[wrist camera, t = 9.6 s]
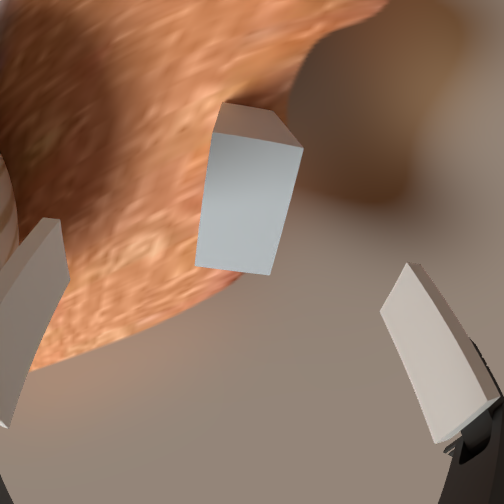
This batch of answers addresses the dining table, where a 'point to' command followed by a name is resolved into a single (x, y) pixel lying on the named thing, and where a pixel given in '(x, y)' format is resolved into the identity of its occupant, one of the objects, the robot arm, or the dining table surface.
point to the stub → (246, 190)
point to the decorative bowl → (7, 217)
